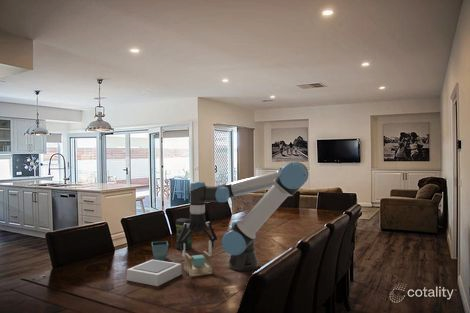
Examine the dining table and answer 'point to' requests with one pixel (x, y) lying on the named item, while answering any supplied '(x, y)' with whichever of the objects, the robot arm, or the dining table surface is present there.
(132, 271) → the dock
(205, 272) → the tan plastic holder
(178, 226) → the coffee jar
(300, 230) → the dining table surface
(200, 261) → the teal block
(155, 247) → the flower pot
